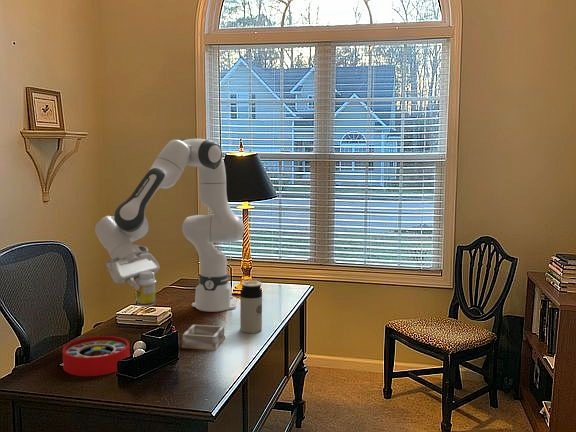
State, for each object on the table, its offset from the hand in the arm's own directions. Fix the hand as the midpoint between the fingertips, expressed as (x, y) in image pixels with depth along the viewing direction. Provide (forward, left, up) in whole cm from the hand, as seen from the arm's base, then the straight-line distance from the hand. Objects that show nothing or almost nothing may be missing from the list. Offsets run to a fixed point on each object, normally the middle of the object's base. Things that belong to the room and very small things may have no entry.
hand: (147, 286), depth 209 cm
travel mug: (-17, +33, -19) cm, 42 cm away
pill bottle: (0, -1, -7) cm, 7 cm away
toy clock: (+25, -7, -20) cm, 32 cm away
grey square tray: (0, +20, -19) cm, 28 cm away
